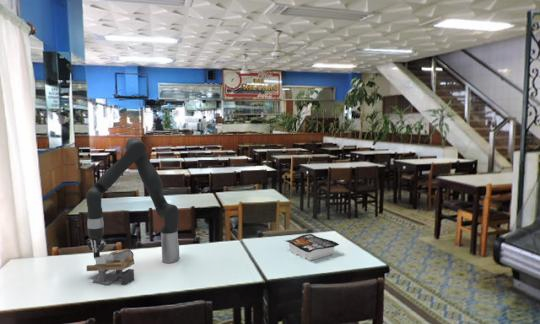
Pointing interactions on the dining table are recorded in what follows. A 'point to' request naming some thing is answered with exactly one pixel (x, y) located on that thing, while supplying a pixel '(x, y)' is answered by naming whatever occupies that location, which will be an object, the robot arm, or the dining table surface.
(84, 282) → the dining table surface
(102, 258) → the block
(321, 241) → the food packaging
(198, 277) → the dining table surface
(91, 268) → the balance beam
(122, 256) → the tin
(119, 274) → the pivot stand
